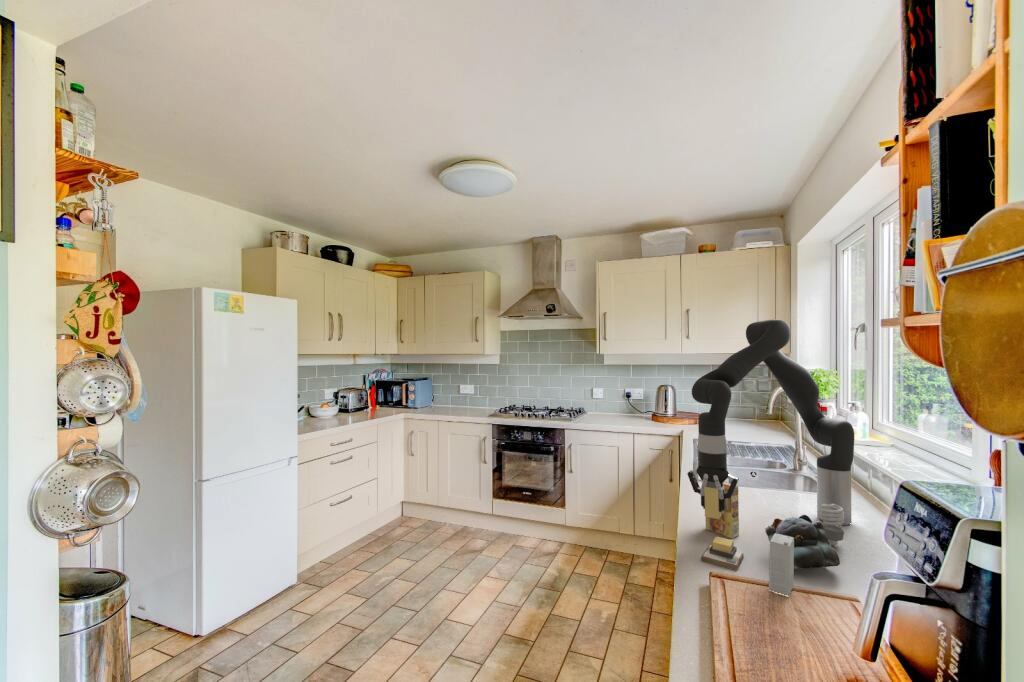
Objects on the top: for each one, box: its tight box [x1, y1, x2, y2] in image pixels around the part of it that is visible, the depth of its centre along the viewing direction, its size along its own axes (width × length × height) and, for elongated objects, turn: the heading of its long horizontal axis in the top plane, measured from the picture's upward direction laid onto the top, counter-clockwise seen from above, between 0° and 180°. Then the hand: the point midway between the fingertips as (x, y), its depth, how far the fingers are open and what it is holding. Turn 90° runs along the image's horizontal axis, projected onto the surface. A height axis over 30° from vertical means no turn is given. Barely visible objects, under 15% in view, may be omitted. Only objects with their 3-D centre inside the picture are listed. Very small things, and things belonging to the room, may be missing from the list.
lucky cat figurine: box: [765, 514, 841, 571], centre depth 118 cm, size 15×12×14 cm
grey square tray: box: [700, 544, 745, 571], centre depth 120 cm, size 8×9×3 cm
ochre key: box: [712, 536, 735, 554], centre depth 121 cm, size 4×4×2 cm
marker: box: [704, 481, 721, 519], centre depth 128 cm, size 4×4×10 cm
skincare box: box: [768, 533, 795, 597], centre depth 105 cm, size 6×4×12 cm
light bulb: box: [820, 504, 845, 547], centre depth 129 cm, size 6×6×12 cm
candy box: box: [705, 481, 740, 539], centre depth 138 cm, size 9×4×15 cm, turn 33°
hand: (713, 509), depth 128 cm, fingers closed on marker, 3 cm apart
